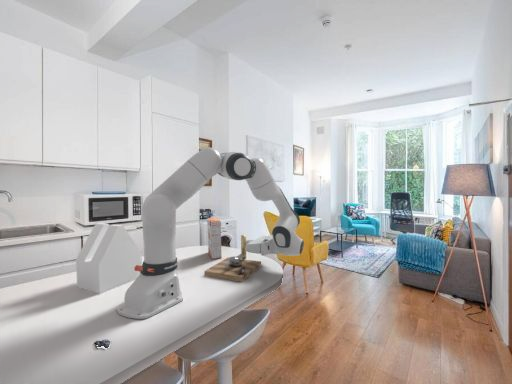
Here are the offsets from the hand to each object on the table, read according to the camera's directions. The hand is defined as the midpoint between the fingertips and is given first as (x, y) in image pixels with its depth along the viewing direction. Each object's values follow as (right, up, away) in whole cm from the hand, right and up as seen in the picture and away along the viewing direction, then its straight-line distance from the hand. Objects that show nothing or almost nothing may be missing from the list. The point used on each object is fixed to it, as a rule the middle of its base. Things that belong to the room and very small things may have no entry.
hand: (246, 242), depth 134 cm
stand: (-5, -11, -10) cm, 16 cm away
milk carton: (-58, -13, -22) cm, 63 cm away
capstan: (-5, -9, -8) cm, 13 cm away
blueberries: (-36, -15, -65) cm, 76 cm away
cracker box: (-19, -11, +15) cm, 26 cm away
